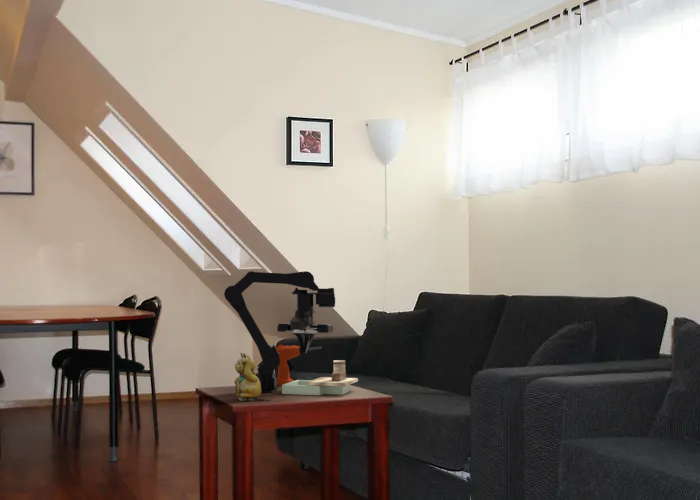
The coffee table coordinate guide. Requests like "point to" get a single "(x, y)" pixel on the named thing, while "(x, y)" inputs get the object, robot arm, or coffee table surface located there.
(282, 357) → the toy drill
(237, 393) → the decorative figurine
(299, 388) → the pale green tray
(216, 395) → the coffee table surface
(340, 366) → the cream upright cylinder
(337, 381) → the lid
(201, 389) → the coffee table surface
